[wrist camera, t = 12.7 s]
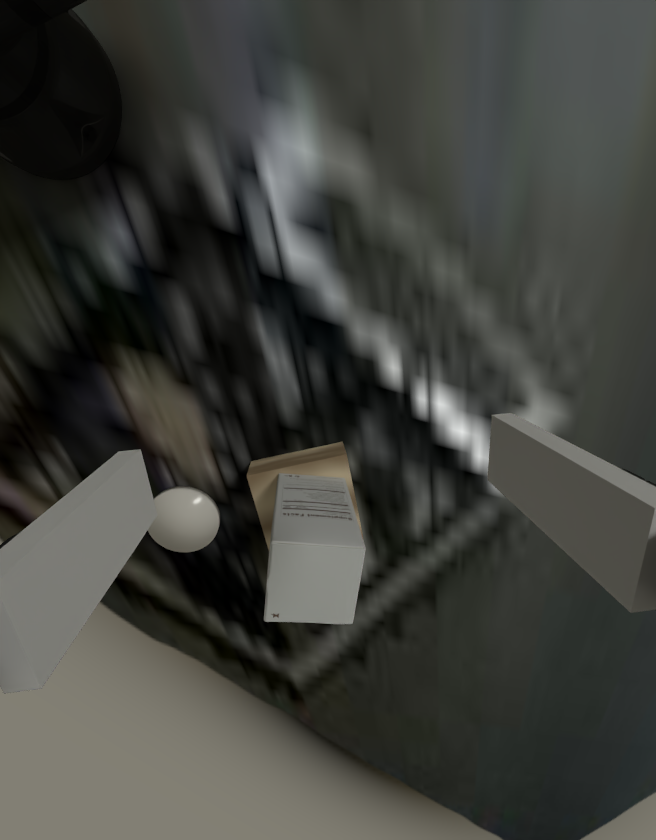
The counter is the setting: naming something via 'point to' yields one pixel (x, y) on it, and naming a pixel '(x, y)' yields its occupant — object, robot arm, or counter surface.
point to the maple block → (303, 462)
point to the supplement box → (313, 552)
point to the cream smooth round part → (184, 519)
